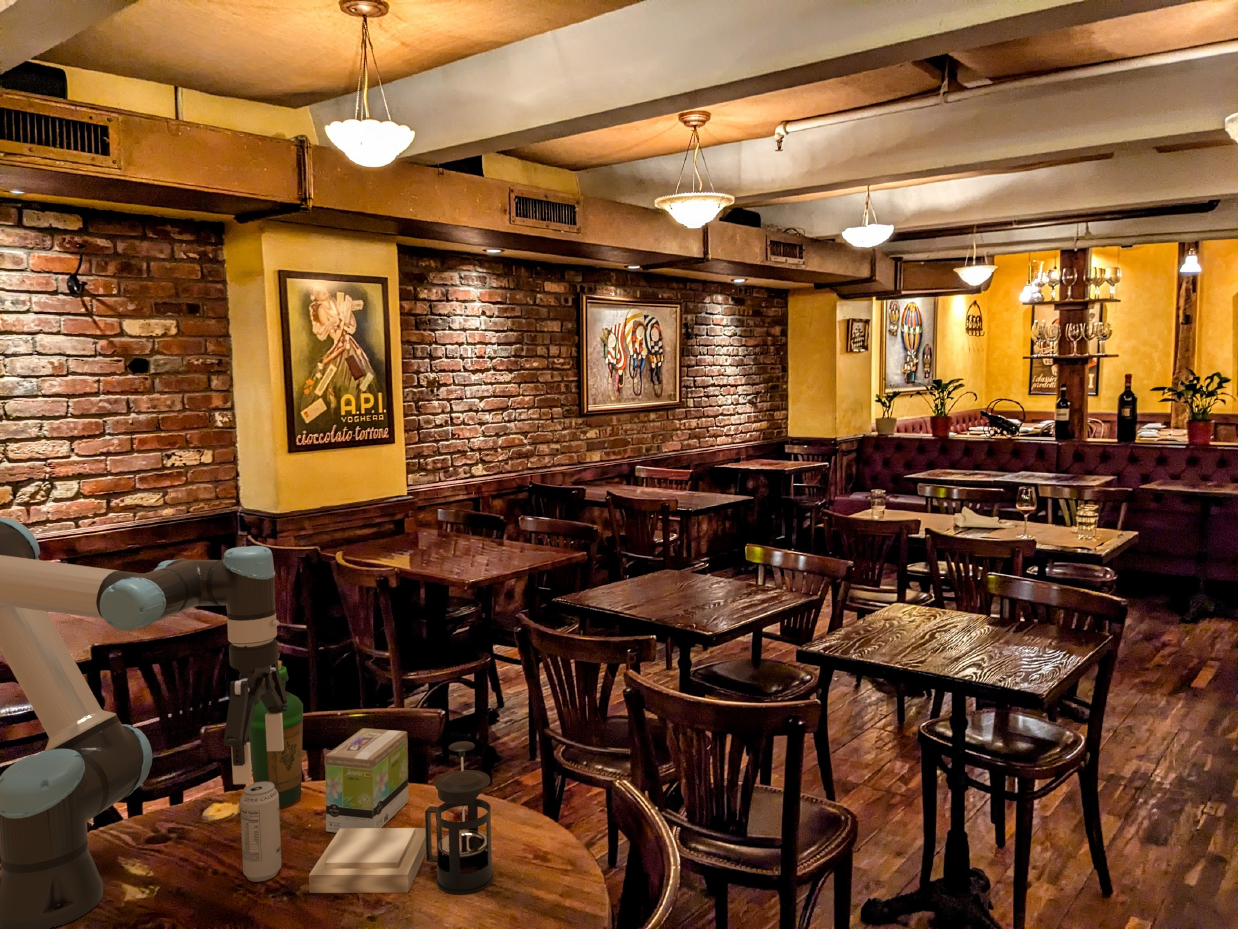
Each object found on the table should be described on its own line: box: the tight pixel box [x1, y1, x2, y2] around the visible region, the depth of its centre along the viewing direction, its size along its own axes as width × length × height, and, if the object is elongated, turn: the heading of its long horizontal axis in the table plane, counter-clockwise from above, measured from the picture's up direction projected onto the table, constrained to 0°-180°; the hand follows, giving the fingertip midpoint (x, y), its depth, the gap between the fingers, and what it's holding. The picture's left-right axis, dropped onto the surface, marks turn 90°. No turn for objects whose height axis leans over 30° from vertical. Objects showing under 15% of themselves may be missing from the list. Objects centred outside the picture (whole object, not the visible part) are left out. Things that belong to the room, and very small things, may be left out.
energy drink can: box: [239, 781, 282, 883], centre depth 155 cm, size 6×6×15 cm
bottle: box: [248, 660, 304, 809], centre depth 183 cm, size 11×11×28 cm
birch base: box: [308, 827, 426, 894], centre depth 157 cm, size 16×16×4 cm
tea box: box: [324, 727, 409, 834], centre depth 176 cm, size 15×10×15 cm, turn 168°
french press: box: [424, 740, 495, 896], centre depth 152 cm, size 12×9×23 cm
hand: (259, 766), depth 154 cm, fingers open, 13 cm apart
